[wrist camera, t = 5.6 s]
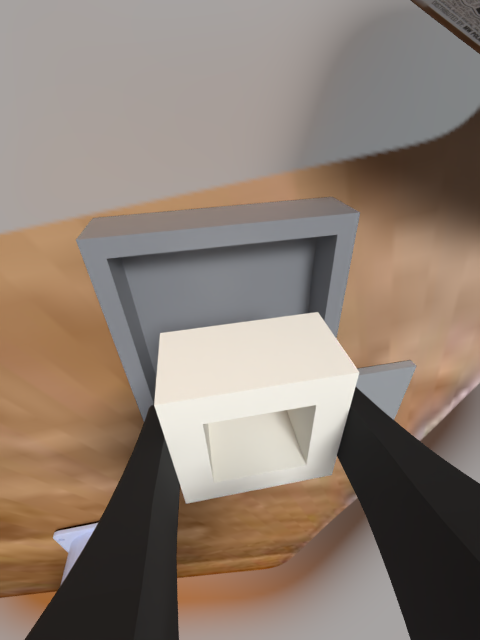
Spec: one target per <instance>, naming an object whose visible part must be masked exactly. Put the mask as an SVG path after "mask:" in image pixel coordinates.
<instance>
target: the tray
mask: <svg viewBox="0 0 480 640" xmlns="http://www.w3.org/2000/svg"><path fill="white" fill-rule="evenodd" d="M359 216H360V212H358V211H356V210H355V209H353V208H351V207H349V206H348V205H346V204H344V203H342V202H341V201H339V200H337V199H335V198H334V197H325V198H313V199H302V200H291V201H280V202H268V203H257V204H246V205H235V206H223V207H212V208H201V209H190V210H178V211H167V212H156V213H145V214H133V215H122V216H111V217H100V218H93V219H92V220H91V221H90V223H89V224H88V225H87V226H86V228H85V229H84V230H83V231H82V233H81V234H80V235H79V237H78V238H77V239H76V241H77V244H78V247H79V249H80V252H81V255H82V257H83V260H84V263H85V265H86V268H87V271H88V274H89V276H90V279H91V282H92V284H93V287H94V290H95V292H96V295H97V298H98V300H99V303H100V306H101V308H102V311H103V314H104V316H105V319H106V322H107V324H108V327H109V330H110V332H111V335H112V338H113V340H114V343H115V346H116V348H117V351H118V354H119V357H120V359H121V362H122V365H123V367H124V370H125V373H126V375H127V378H128V381H129V383H130V386H131V389H132V391H133V394H134V397H135V399H136V402H137V405H138V407H139V410H140V413H141V415H142V418H143V421H144V422H145V419H146V416H147V412H148V409H149V407H150V406H151V405H154V401H155V389H156V377H157V364H158V352H159V340H160V333H164V332H172V331H179V330H187V329H194V328H202V327H209V326H217V325H224V324H232V323H239V322H247V321H254V320H262V319H269V318H277V317H284V316H292V315H299V314H307V313H314V312H318V313H319V314H320V316H321V317H322V319H323V320H324V322H325V323H326V324H327V326H328V327H329V329H330V330H331V332H332V333H333V335H334V336H335V338H336V337H337V332H338V327H339V321H340V316H341V311H342V306H343V300H344V295H345V290H346V284H347V279H348V274H349V269H350V263H351V258H352V253H353V247H354V242H355V237H356V232H357V226H358V221H359Z"/></svg>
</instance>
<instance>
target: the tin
mask: <svg viewBox="0 0 480 640" xmlns="http://www.w3.org/2000/svg"><path fill="white" fill-rule="evenodd" d="M411 1H412V2H413V3H414V4H416V5H417V6H418V7H420V8H421V9H422V10H423V11H425V12H426V13H427V14H429V15H430V16H431V17H432V18H434V19H435V20H436V21H438V22H439V23H440V24H441V25H443V26H444V27H446V28H447V29H448V30H449V31H451V32H452V33H453V34H454V35H456V36H457V37H458V38H459V39H461V40H462V41H463V42H465V43H466V44H467V45H469V46H470V47H471V48H473V49H474V50H475V51H477V52H478V53H479V54H480V0H411Z"/></svg>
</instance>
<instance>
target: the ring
mask: <svg viewBox="0 0 480 640" xmlns="http://www.w3.org/2000/svg"><path fill="white" fill-rule="evenodd" d="M358 376H359V371H358V370H357V368H356V367H355V365H354V364H353V362H352V361H351V359H350V358H349V356H348V355H347V354H346V352H345V351H344V349H343V348H342V346H341V345H340V343H339V342H338V340H337V339H336V338H335V336H334V335H333V333H332V332H331V330H330V329H329V327H328V326H327V324H326V323H325V322H324V320H323V319H322V317H321V316H320V314H319V313H318V312H314V313H307V314H299V315H292V316H284V317H277V318H269V319H262V320H254V321H247V322H239V323H232V324H224V325H217V326H209V327H202V328H194V329H187V330H179V331H172V332H164V333H160V340H159V352H158V364H157V377H156V389H155V401H154V406H155V409H156V412H157V415H158V418H159V422H160V425H161V428H162V431H163V434H164V437H165V440H166V443H167V446H168V449H169V452H170V455H171V458H172V461H173V465H174V468H175V471H176V474H177V477H178V480H179V483H180V486H181V489H182V492H183V495H184V498H185V501H186V504H187V503H192V502H197V501H202V500H207V499H212V498H217V497H222V496H227V495H233V494H238V493H243V492H248V491H253V490H258V489H263V488H268V487H273V486H278V485H283V484H288V483H293V482H298V481H303V480H308V479H313V478H318V477H324V476H329V475H332V472H333V468H334V464H335V461H336V457H337V453H338V450H339V446H340V442H341V439H342V435H343V431H344V428H345V424H346V420H347V416H348V413H349V409H350V405H351V402H352V398H353V394H354V391H355V387H356V383H357V380H358Z"/></svg>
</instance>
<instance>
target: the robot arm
mask: <svg viewBox="0 0 480 640" xmlns="http://www.w3.org/2000/svg"><path fill="white" fill-rule="evenodd" d="M337 456H338V458H339V461H340V463H341V465H342V467H343V469H344V471H345V473H346V475H347V477H348V479H349V481H350V483H351V485H352V487H353V489H354V491H355V493H356V495H357V497H358V499H359V501H360V503H361V506H362V508H363V510H364V512H365V514H366V517H367V519H368V522H369V524H370V527H371V530H372V532H373V535H374V537H375V540H376V542H377V545H378V548H379V550H380V553H381V555H382V558H383V561H384V563H385V566H386V569H387V572H388V574H389V577H390V580H391V583H392V586H393V588H394V591H395V594H396V597H397V600H398V603H399V606H400V609H401V612H402V614H403V617H404V620H405V623H406V627H407V630H408V633H409V636H410V639H411V640H480V484H479V483H478V482H476V481H475V480H473V479H472V478H470V477H469V476H467V475H466V474H464V473H463V472H461V471H460V470H458V469H457V468H456V467H454V466H453V465H451V464H450V463H448V462H447V461H445V460H444V459H443V458H441V457H440V456H439V455H437V454H436V453H434V452H433V451H432V450H430V449H429V448H428V447H426V446H425V445H424V444H423V443H421V442H420V441H419V440H418V439H416V438H415V437H414V436H412V435H411V434H410V433H409V432H407V431H406V430H405V429H404V428H403V427H401V426H400V425H399V424H398V423H397V422H395V421H394V420H393V419H392V418H391V417H390V416H388V415H387V414H386V413H385V412H384V411H383V410H381V409H380V408H379V407H378V406H377V405H376V404H375V403H373V402H372V401H371V400H370V399H369V398H368V397H367V396H366V395H365V394H364V393H362V392H361V391H360V390H359V389H358V388H357V387H355V391H354V394H353V398H352V402H351V405H350V409H349V413H348V416H347V420H346V424H345V428H344V431H343V435H342V439H341V442H340V446H339V450H338V453H337ZM179 492H180V483H179V480H178V477H177V474H176V471H175V468H174V465H173V461H172V458H171V455H170V452H169V449H168V446H167V443H166V440H165V437H164V434H163V431H162V428H161V425H160V422H159V418H158V415H157V412H156V409H155V406H154V405H151V406H150V407H149V409H148V412H147V416H146V419H145V422H144V424H143V427H142V430H141V433H140V435H139V438H138V440H137V443H136V445H135V448H134V450H133V452H132V455H131V457H130V459H129V461H128V464H127V466H126V468H125V471H124V473H123V475H122V477H121V479H120V481H119V483H118V485H117V487H116V489H115V491H114V493H113V495H112V497H111V499H110V501H109V503H108V505H107V507H106V509H105V511H104V513H103V515H102V517H101V519H100V520H99V522H98V523H94V524H89V525H84V526H79V527H74V528H69V529H64V530H59V531H56V532H55V533H54V536H53V538H54V539H55V540H56V541H57V542H58V543H59V544H60V545H61V546H62V547H63V548H64V549H65V550H66V551H67V552H68V557H67V561H66V565H65V569H64V573H63V577H62V581H61V585H60V588H59V589H58V591H57V592H56V594H55V596H54V597H53V598H52V600H51V602H50V603H49V604H48V606H47V607H46V609H45V611H44V612H43V613H42V615H41V616H40V618H39V619H38V621H37V622H36V624H35V625H34V627H33V628H32V629H31V631H30V632H29V634H28V635H27V637H26V638H25V640H179V632H178V601H177V561H176V553H177V527H178V510H179Z"/></svg>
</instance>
